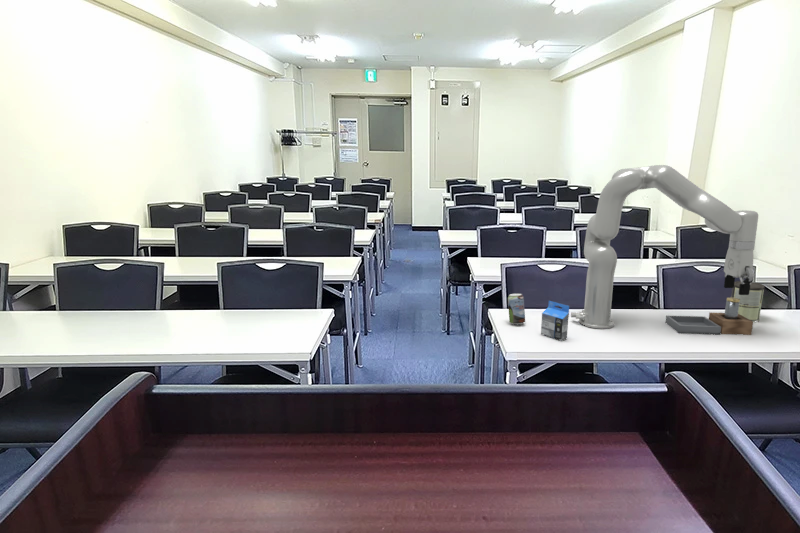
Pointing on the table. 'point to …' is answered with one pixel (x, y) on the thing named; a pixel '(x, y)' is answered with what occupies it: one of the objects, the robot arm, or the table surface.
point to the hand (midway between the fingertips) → (736, 291)
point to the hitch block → (732, 324)
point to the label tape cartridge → (555, 321)
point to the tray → (693, 325)
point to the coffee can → (749, 300)
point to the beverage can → (516, 309)
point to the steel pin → (731, 308)
